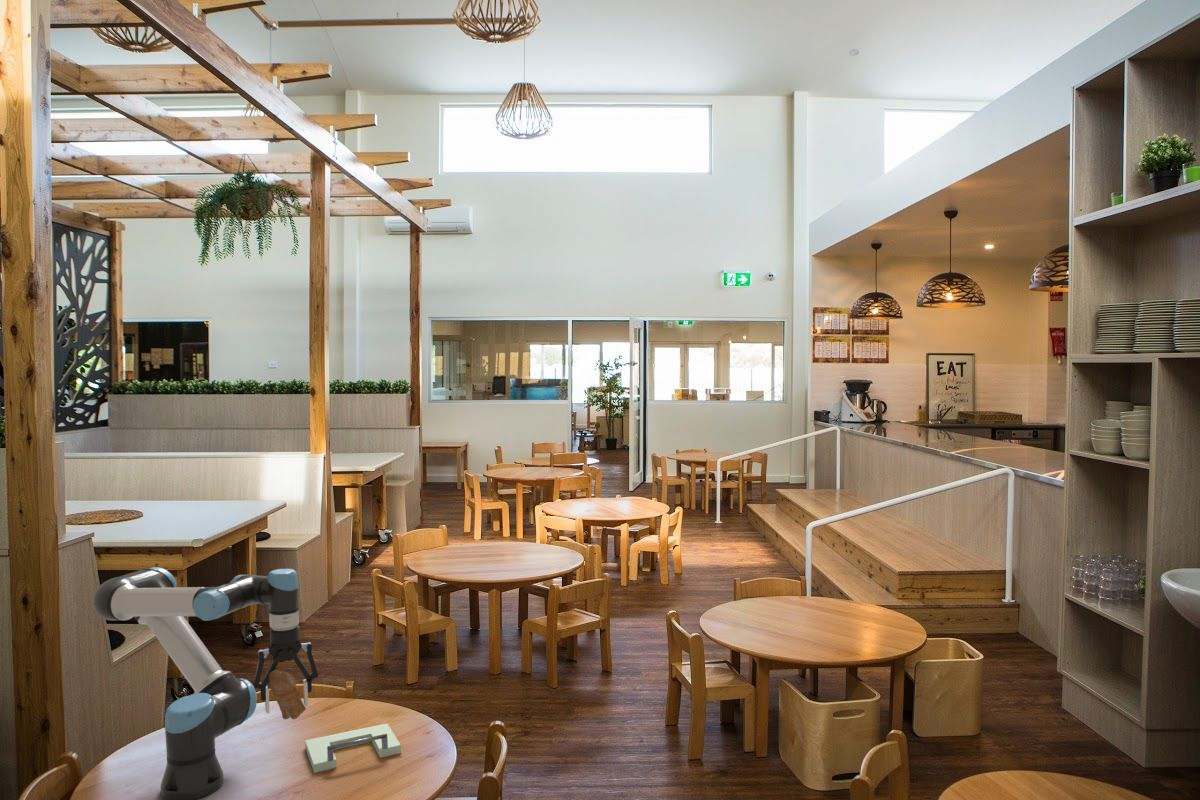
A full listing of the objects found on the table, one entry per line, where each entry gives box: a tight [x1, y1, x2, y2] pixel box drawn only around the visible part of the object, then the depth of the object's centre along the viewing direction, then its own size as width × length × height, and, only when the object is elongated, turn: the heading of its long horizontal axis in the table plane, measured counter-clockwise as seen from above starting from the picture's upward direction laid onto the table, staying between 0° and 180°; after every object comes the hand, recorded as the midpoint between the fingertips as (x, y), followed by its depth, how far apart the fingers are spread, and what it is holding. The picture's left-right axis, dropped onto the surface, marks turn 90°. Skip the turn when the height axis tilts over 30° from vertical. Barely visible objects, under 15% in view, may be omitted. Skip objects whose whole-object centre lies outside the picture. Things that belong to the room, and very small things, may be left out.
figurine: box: [267, 669, 307, 720], centre depth 229 cm, size 8×8×15 cm
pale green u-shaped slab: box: [304, 722, 402, 774], centre depth 244 cm, size 24×17×2 cm
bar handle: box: [327, 734, 388, 761], centre depth 237 cm, size 16×1×4 cm, turn 117°
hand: (286, 707), depth 230 cm, fingers closed on figurine, 9 cm apart
